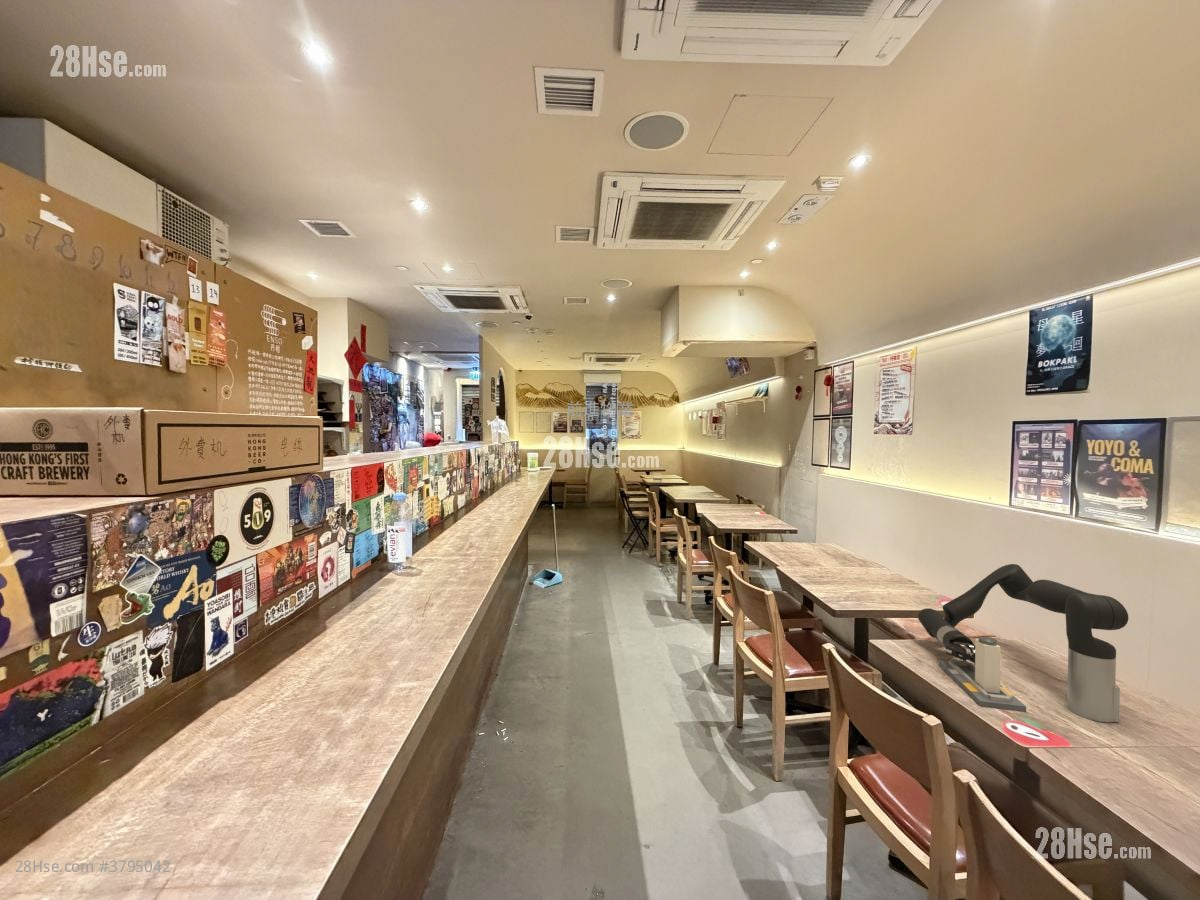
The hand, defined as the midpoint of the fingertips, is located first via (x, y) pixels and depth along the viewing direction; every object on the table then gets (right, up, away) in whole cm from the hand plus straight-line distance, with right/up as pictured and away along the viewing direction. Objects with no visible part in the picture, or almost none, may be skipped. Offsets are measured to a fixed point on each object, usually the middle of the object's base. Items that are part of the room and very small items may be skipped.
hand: (982, 664), depth 143 cm
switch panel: (+1, -8, +2) cm, 8 cm away
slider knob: (-1, -6, -2) cm, 7 cm away
